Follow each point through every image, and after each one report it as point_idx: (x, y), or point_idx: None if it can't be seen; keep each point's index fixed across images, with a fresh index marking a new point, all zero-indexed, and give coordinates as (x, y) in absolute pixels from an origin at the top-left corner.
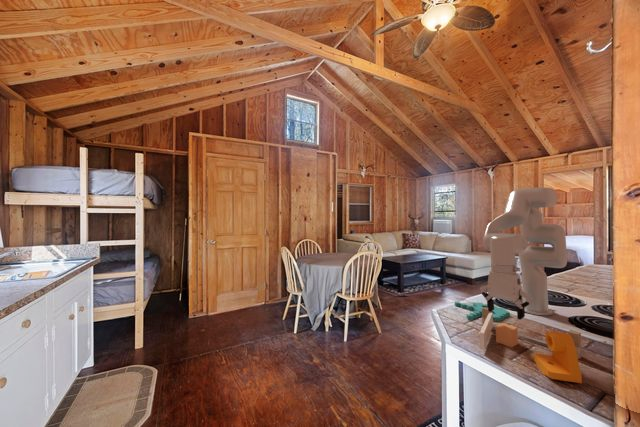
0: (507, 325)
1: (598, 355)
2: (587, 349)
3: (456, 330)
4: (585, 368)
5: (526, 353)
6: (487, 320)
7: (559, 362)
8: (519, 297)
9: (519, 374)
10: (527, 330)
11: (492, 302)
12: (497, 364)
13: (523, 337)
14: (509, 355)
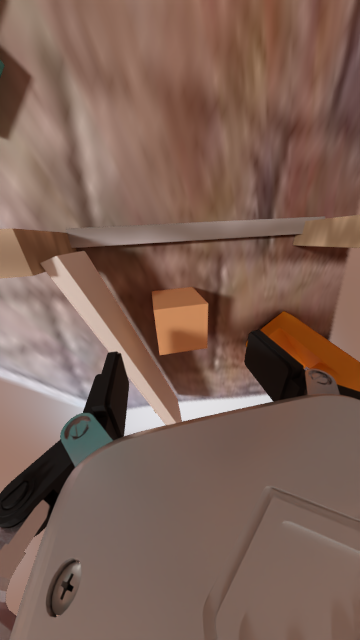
0: (178, 317)
1: (354, 157)
2: (338, 125)
3: (51, 360)
4: (315, 282)
5: (223, 321)
6: (128, 366)
7: (293, 346)
8: (345, 403)
9: (237, 392)
10: (155, 100)
11: (117, 404)
12: (206, 397)
13: (190, 240)
14: (205, 358)
